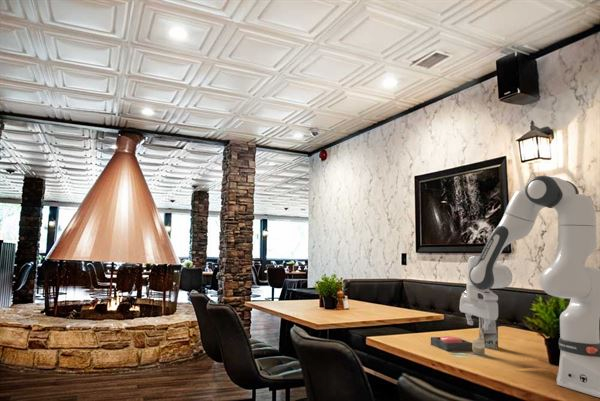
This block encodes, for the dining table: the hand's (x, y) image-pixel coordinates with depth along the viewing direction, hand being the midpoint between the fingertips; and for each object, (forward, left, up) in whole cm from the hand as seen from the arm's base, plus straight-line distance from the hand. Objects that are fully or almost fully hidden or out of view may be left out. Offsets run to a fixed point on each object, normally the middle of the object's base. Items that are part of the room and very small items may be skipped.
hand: (477, 327), depth 173 cm
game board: (+6, +4, -12) cm, 14 cm away
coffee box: (+14, -17, -12) cm, 25 cm away
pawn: (-1, 0, -11) cm, 11 cm away
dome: (+12, +4, -11) cm, 17 cm away
